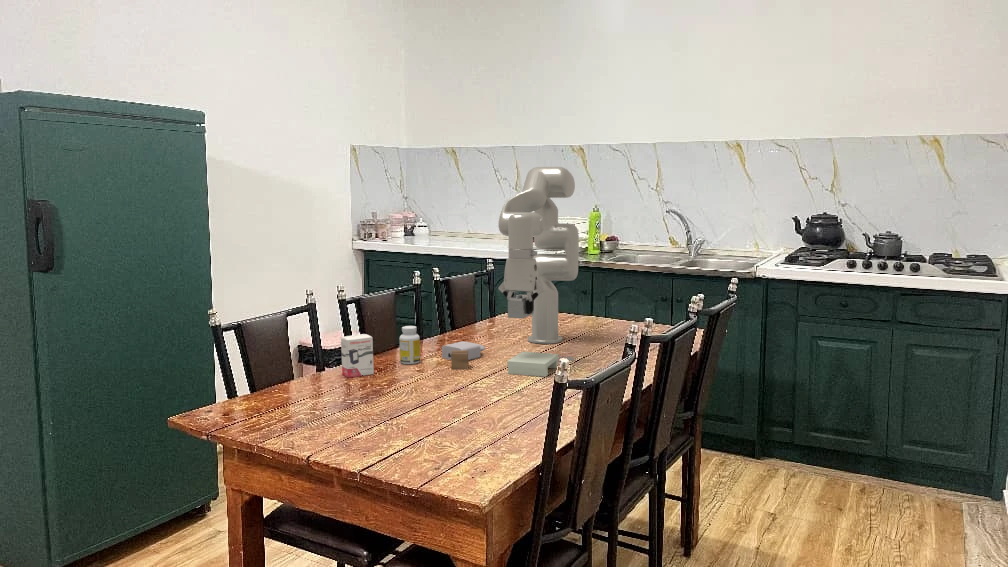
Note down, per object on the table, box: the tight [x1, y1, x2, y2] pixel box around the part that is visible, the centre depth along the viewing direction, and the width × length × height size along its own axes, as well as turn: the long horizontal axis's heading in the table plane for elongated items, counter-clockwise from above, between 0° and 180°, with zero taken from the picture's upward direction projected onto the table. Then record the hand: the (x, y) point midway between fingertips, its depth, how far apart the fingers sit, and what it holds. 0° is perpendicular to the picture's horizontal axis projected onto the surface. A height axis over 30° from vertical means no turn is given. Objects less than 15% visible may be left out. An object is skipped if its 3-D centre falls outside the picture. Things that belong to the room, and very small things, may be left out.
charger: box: [441, 341, 486, 361], centre depth 267 cm, size 5×9×15 cm
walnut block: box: [450, 350, 469, 371], centre depth 252 cm, size 5×5×5 cm
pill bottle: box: [398, 325, 421, 365], centre depth 259 cm, size 6×6×12 cm
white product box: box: [340, 333, 375, 379], centre depth 244 cm, size 8×5×12 cm, turn 123°
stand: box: [506, 350, 560, 378], centre depth 248 cm, size 14×12×4 cm
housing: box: [507, 294, 534, 320], centre depth 248 cm, size 9×5×7 cm, turn 156°
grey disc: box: [558, 356, 575, 362], centre depth 261 cm, size 5×5×1 cm
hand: (521, 312), depth 249 cm, fingers closed on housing, 5 cm apart
